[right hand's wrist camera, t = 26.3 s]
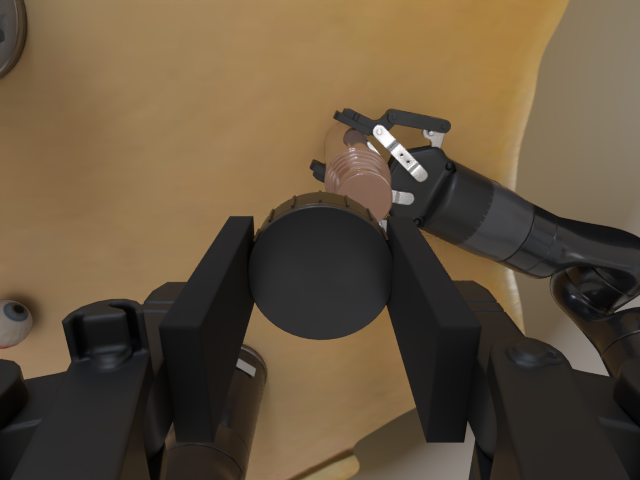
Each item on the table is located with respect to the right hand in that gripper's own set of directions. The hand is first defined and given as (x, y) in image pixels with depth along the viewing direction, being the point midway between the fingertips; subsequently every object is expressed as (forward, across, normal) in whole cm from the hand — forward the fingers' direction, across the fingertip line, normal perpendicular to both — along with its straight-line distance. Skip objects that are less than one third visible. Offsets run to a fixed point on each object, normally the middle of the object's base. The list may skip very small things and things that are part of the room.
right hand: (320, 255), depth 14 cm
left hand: (+29, 0, 0) cm, 29 cm away
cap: (-1, 0, 0) cm, 1 cm away
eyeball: (+36, -39, -23) cm, 58 cm away
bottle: (+36, +3, -1) cm, 36 cm away
